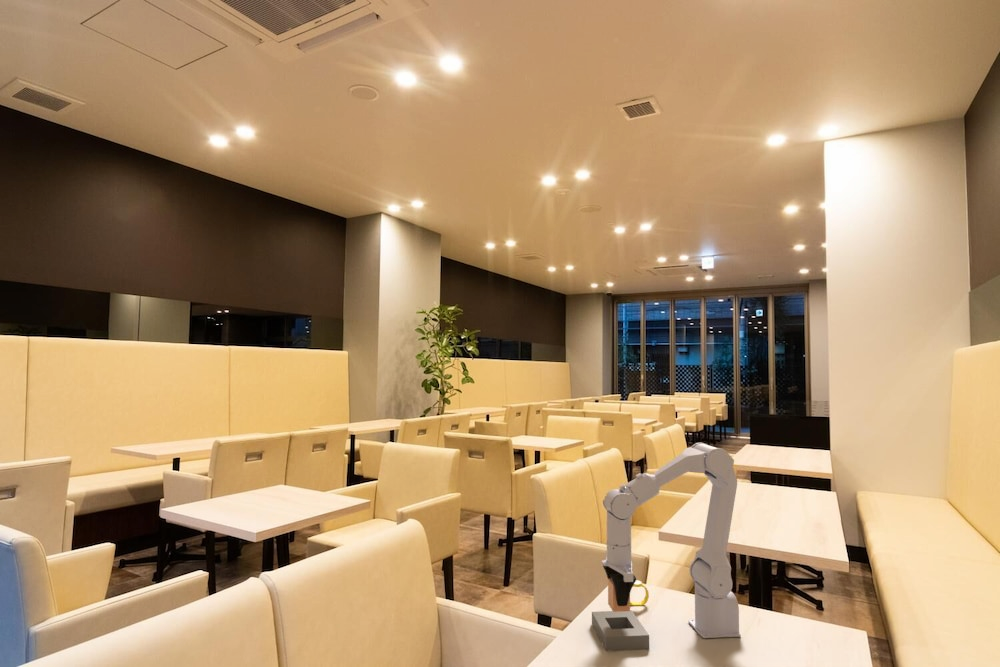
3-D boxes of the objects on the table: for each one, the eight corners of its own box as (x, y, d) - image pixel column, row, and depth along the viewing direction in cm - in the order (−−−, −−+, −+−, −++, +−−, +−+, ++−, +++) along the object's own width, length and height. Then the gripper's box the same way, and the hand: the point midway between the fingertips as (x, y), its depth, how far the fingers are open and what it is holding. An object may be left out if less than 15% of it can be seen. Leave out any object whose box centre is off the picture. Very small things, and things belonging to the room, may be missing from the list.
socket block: (631, 622, 134) (631, 610, 134) (649, 648, 122) (649, 635, 122) (591, 624, 133) (591, 611, 133) (605, 650, 121) (605, 637, 121)
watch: (628, 608, 142) (626, 585, 142) (624, 603, 145) (623, 581, 145) (650, 606, 142) (648, 583, 143) (646, 601, 145) (645, 579, 145)
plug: (624, 603, 130) (624, 577, 130) (630, 611, 126) (629, 584, 126) (608, 603, 129) (608, 578, 130) (613, 611, 125) (613, 585, 126)
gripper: (594, 532, 135) (594, 588, 134) (611, 553, 121) (611, 616, 120) (621, 532, 136) (622, 587, 135) (642, 553, 121) (642, 614, 121)
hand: (619, 600), depth 128 cm, fingers closed on plug, 4 cm apart
